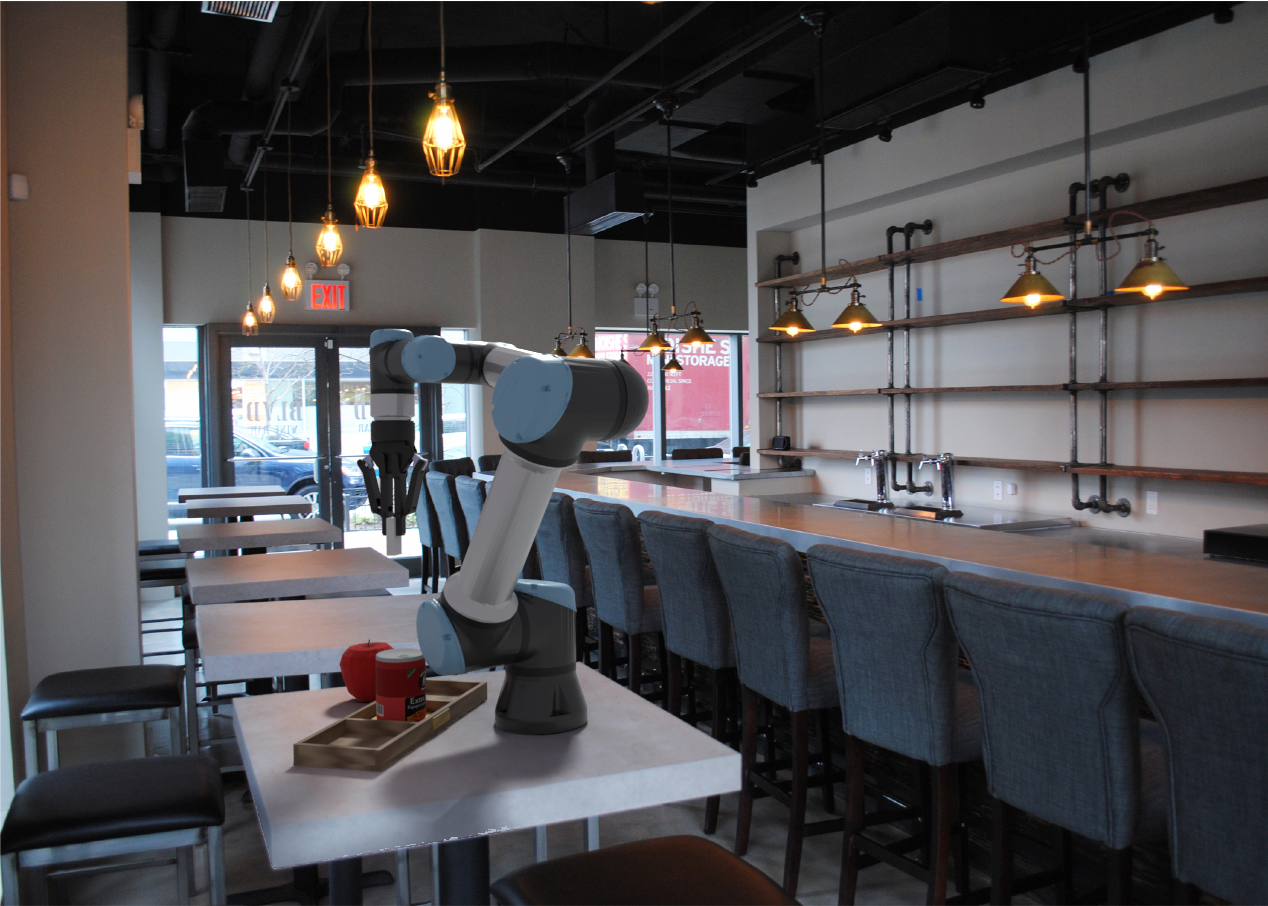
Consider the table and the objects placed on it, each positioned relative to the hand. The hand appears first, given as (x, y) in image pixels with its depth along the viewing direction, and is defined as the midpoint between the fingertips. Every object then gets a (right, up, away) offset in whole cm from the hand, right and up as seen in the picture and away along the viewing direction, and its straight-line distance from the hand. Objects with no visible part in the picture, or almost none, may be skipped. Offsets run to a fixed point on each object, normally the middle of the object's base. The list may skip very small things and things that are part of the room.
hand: (394, 554), depth 167 cm
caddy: (+4, -27, -13) cm, 30 cm away
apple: (-6, -27, +5) cm, 28 cm away
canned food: (+4, -26, -13) cm, 29 cm away
